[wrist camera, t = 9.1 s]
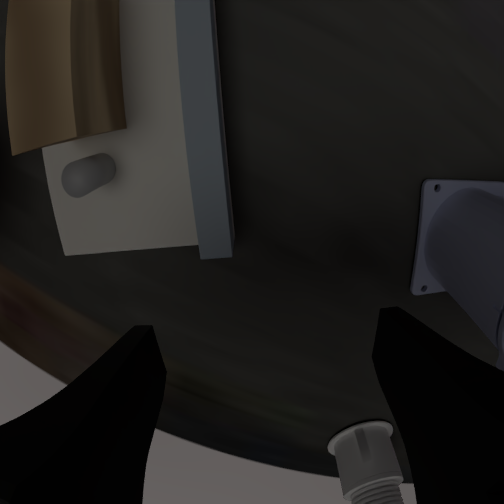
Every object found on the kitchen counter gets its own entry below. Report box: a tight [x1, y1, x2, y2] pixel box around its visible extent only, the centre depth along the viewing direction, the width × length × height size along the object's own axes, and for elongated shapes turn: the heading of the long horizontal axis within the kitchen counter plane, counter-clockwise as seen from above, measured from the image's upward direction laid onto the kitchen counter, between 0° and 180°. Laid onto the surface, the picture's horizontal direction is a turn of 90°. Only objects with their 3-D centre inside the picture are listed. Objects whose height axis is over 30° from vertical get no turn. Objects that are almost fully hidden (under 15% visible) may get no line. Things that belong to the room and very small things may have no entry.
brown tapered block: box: [5, 0, 127, 156], centre depth 11 cm, size 4×8×6 cm, turn 4°
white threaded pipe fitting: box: [328, 421, 404, 504], centre depth 23 cm, size 8×7×10 cm
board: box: [42, 0, 235, 259], centre depth 14 cm, size 11×18×4 cm, turn 4°
